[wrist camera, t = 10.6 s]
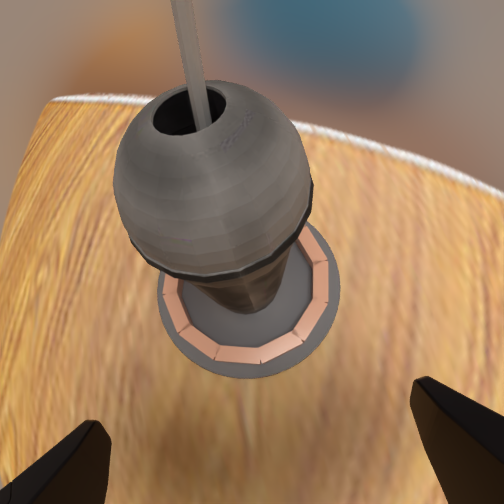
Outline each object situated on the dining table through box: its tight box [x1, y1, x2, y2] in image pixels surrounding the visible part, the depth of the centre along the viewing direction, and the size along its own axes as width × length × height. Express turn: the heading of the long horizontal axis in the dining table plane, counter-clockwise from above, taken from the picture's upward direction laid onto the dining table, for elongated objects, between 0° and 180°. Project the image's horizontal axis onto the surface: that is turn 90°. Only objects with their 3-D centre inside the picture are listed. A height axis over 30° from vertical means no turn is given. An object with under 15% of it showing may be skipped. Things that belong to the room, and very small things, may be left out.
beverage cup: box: [113, 0, 314, 315], centre depth 13 cm, size 7×7×20 cm
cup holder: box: [157, 221, 340, 378], centre depth 22 cm, size 13×13×2 cm
